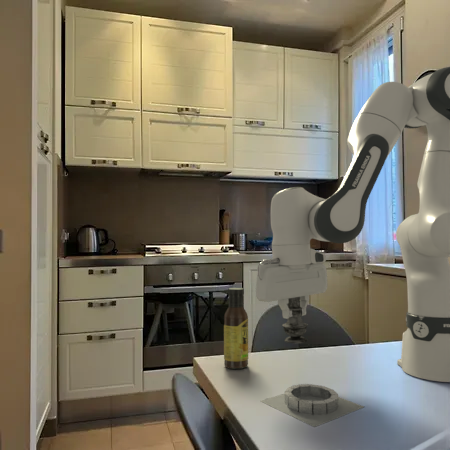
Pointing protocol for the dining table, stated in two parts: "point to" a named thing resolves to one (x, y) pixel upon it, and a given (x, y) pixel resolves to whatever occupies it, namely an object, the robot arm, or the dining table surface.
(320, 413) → the ring
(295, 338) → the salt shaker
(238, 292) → the sauce bottle
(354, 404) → the board
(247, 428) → the dining table surface
